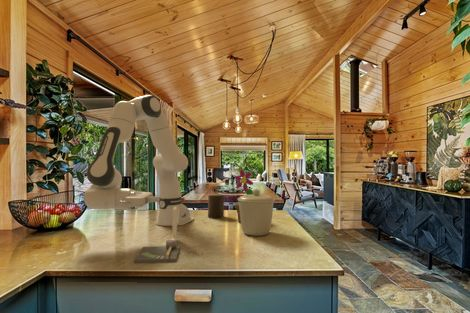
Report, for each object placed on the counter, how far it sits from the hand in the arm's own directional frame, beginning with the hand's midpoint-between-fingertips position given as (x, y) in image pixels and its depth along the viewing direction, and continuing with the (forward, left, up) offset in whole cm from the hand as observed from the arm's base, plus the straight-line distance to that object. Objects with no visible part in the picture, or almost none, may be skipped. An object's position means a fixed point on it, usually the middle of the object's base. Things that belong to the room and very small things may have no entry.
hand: (159, 199), depth 116 cm
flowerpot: (-52, +16, -18) cm, 58 cm away
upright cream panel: (+4, +11, -17) cm, 20 cm away
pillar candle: (-55, -7, -18) cm, 59 cm away
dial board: (+12, +11, -18) cm, 24 cm away
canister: (-33, +30, -18) cm, 48 cm away
